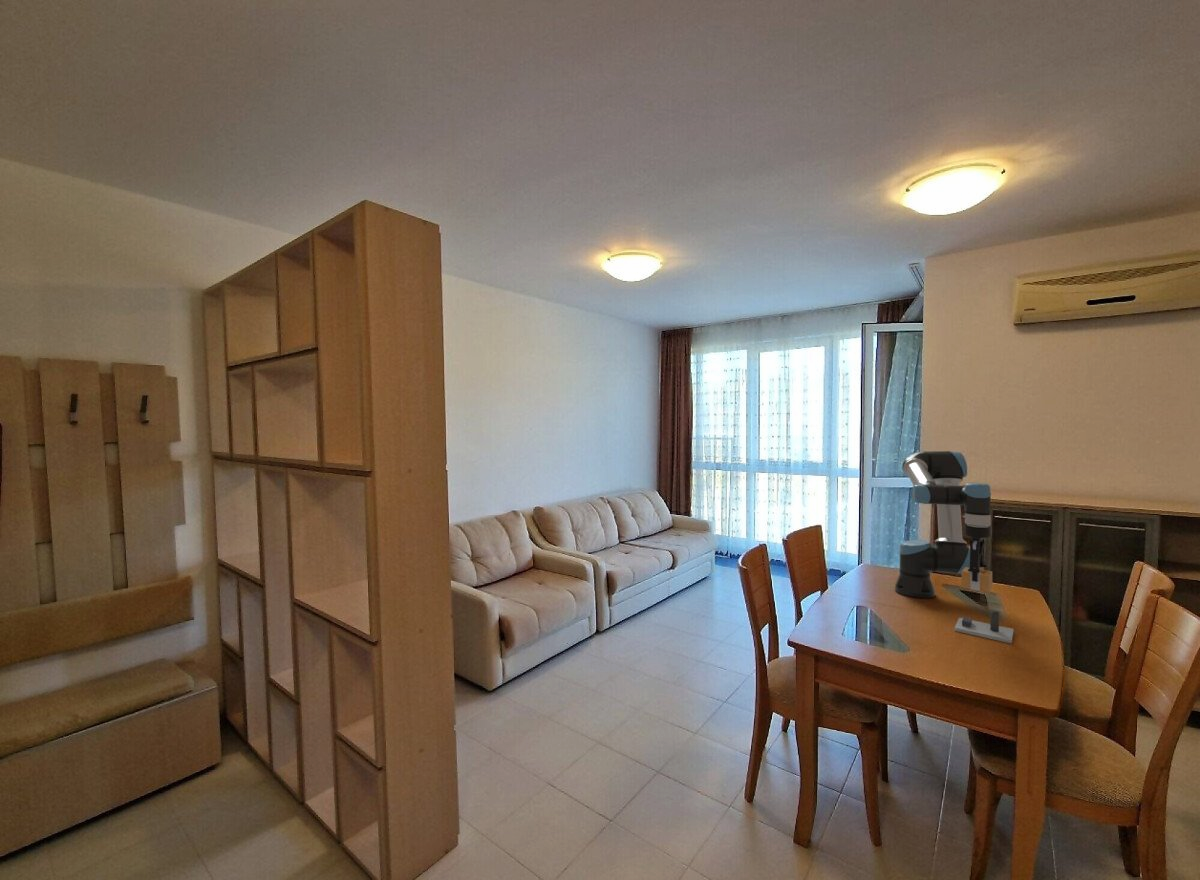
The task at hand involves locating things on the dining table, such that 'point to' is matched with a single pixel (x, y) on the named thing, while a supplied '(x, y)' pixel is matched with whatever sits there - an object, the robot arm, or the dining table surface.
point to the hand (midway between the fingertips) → (977, 587)
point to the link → (984, 579)
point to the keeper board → (985, 628)
